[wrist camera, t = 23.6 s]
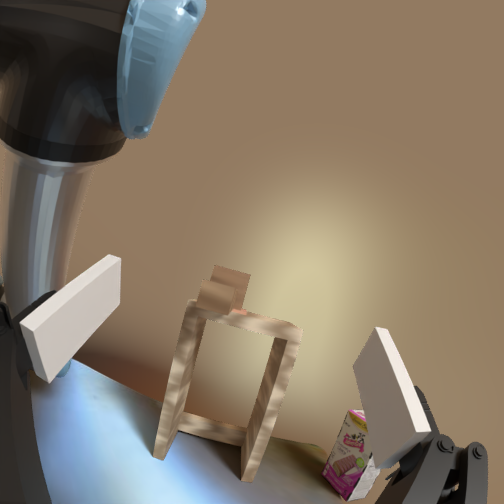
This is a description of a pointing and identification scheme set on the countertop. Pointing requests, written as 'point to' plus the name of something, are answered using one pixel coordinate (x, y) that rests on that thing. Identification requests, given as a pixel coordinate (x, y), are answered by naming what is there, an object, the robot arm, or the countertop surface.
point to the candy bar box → (352, 459)
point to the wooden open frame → (267, 399)
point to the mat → (240, 311)
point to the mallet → (223, 291)
